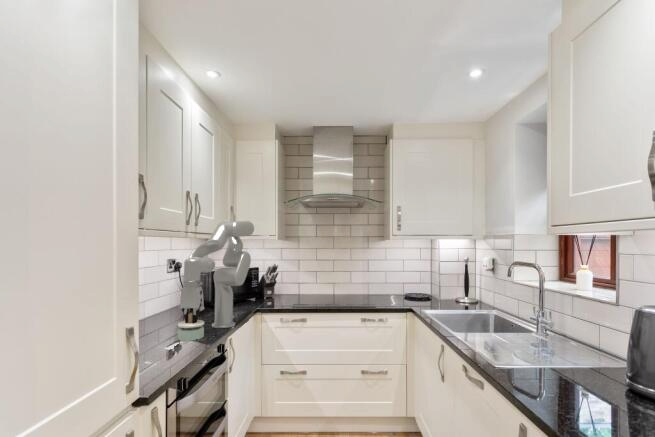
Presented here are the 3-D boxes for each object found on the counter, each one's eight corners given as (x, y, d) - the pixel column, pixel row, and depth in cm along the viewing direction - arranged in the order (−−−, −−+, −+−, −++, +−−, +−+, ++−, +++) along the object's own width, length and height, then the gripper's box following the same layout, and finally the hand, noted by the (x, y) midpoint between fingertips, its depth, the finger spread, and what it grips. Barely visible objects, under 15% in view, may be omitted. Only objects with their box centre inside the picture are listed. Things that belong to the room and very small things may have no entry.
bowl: (186, 334, 178) (186, 324, 179) (207, 335, 177) (207, 325, 177) (173, 341, 167) (173, 330, 168) (195, 342, 166) (195, 331, 166)
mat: (176, 343, 163) (176, 342, 163) (196, 345, 162) (197, 343, 162) (163, 350, 154) (163, 349, 154) (184, 351, 152) (184, 350, 152)
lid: (186, 321, 179) (187, 310, 180) (208, 322, 177) (209, 311, 178) (172, 327, 168) (172, 315, 168) (195, 328, 165) (196, 316, 166)
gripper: (211, 283, 176) (210, 321, 175) (181, 282, 179) (180, 320, 178) (203, 285, 168) (202, 325, 167) (172, 284, 171) (171, 323, 170)
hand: (191, 322), depth 172 cm, fingers closed on lid, 3 cm apart
